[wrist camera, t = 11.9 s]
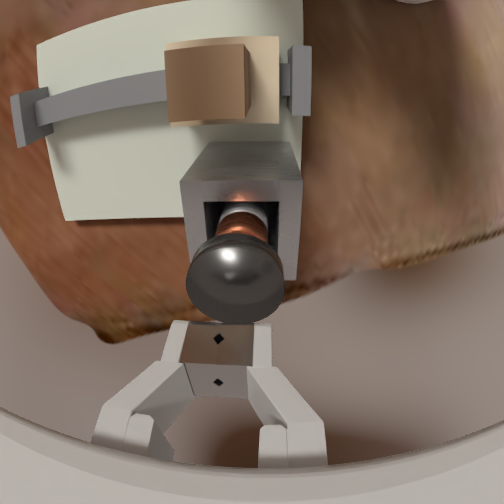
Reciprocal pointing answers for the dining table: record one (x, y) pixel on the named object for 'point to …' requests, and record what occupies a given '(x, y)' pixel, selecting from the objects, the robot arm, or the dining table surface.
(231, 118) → the carriage
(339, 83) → the dining table surface
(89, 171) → the rail bed
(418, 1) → the milk bottle
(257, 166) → the cabinet
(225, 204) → the knob
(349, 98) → the dining table surface
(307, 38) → the dining table surface
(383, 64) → the dining table surface
